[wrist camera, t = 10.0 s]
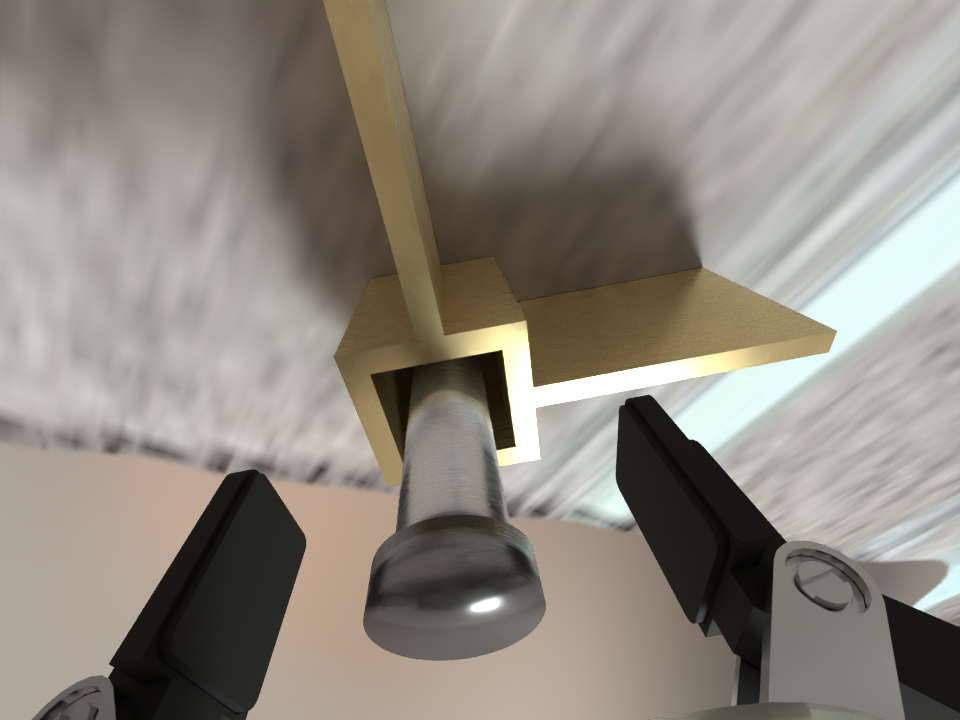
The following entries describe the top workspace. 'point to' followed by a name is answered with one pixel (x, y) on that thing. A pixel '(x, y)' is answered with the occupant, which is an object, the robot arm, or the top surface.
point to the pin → (452, 532)
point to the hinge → (494, 310)
